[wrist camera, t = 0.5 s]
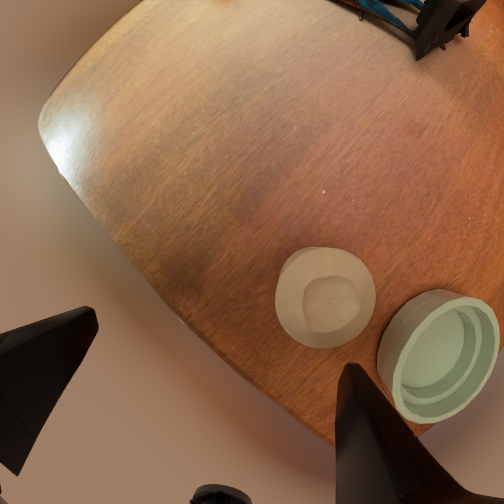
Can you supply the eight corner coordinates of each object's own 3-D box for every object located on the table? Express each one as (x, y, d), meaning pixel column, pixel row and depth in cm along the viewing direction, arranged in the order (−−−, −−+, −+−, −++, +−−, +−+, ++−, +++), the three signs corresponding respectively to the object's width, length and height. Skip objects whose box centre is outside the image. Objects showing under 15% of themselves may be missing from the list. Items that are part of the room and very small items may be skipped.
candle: (310, 325, 23) (324, 378, 13) (265, 279, 23) (249, 304, 13) (358, 280, 22) (404, 304, 12) (313, 232, 23) (333, 223, 13)
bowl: (410, 415, 22) (427, 441, 17) (351, 351, 22) (365, 376, 17) (484, 339, 20) (511, 353, 15) (438, 262, 21) (468, 266, 16)
